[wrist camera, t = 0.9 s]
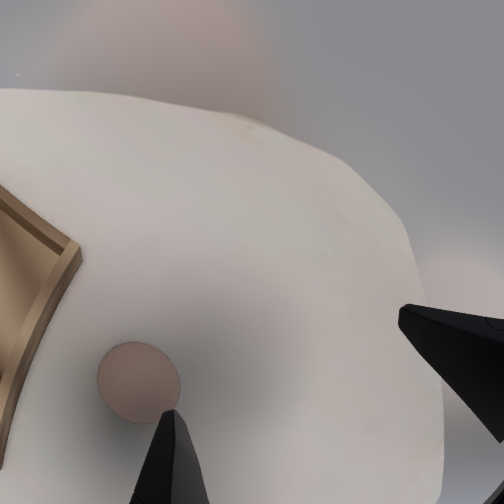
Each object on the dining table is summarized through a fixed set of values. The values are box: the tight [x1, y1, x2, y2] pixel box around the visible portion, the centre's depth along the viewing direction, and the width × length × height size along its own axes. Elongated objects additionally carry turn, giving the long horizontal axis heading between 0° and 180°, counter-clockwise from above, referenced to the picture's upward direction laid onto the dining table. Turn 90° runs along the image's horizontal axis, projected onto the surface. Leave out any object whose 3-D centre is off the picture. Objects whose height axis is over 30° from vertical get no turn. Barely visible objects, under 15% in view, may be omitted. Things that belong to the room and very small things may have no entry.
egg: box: [97, 342, 180, 424], centre depth 15 cm, size 5×5×7 cm
